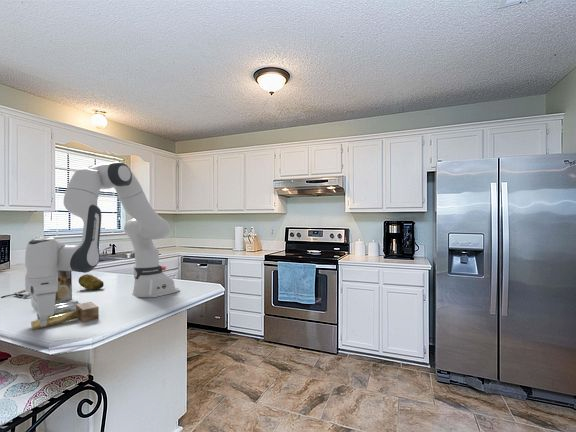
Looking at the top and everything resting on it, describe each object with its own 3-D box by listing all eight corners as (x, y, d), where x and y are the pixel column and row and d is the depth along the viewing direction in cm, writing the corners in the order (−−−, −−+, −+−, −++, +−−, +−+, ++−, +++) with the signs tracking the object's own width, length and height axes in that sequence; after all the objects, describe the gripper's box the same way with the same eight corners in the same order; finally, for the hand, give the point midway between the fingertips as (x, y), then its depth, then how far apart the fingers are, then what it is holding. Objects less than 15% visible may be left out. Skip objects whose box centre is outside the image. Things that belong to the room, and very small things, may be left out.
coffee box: (61, 298, 150) (61, 265, 150) (72, 299, 149) (72, 265, 149) (43, 303, 141) (42, 268, 141) (54, 304, 140) (54, 269, 140)
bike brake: (48, 287, 170) (1, 301, 153) (46, 275, 169) (-2, 288, 152) (60, 290, 163) (12, 306, 146) (58, 278, 162) (10, 292, 145)
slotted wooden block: (91, 316, 122) (91, 301, 122) (98, 322, 115) (98, 306, 115) (76, 320, 119) (76, 304, 119) (83, 326, 112) (82, 309, 112)
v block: (76, 312, 128) (76, 300, 128) (81, 316, 123) (81, 303, 123) (40, 319, 120) (40, 306, 120) (43, 324, 115) (43, 310, 115)
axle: (76, 317, 116) (75, 309, 116) (78, 319, 114) (77, 311, 114) (31, 329, 106) (30, 320, 106) (33, 331, 104) (32, 322, 104)
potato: (90, 292, 162) (90, 277, 162) (75, 289, 168) (75, 275, 168) (105, 288, 169) (105, 274, 169) (91, 286, 175) (91, 272, 175)
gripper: (26, 281, 112) (26, 319, 112) (34, 290, 98) (34, 334, 98) (47, 278, 117) (48, 315, 117) (59, 287, 103) (59, 329, 103)
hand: (42, 324), depth 107 cm, fingers closed on axle, 3 cm apart
